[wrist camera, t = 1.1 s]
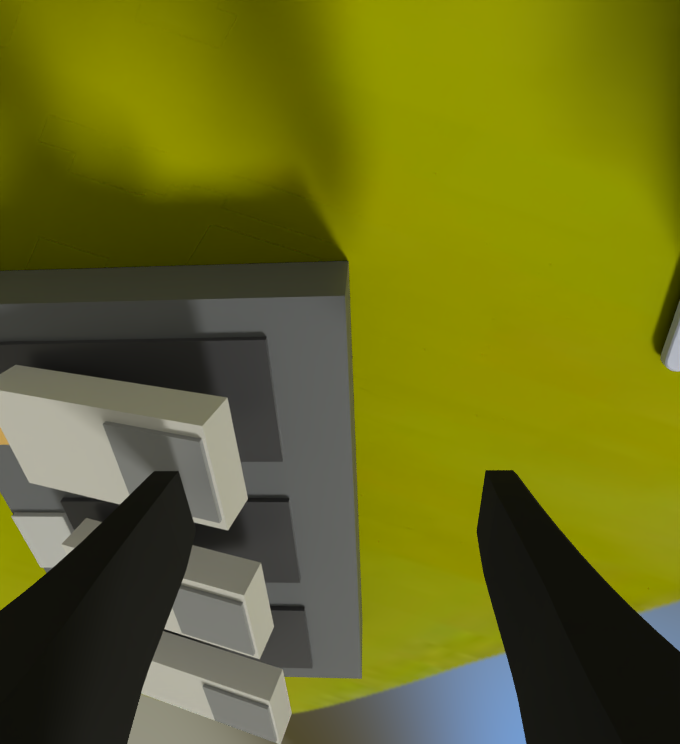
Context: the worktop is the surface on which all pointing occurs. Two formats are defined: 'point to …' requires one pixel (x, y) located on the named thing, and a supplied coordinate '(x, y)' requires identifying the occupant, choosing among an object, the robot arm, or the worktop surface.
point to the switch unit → (248, 412)
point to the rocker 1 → (122, 439)
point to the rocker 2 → (220, 686)
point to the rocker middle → (214, 598)
